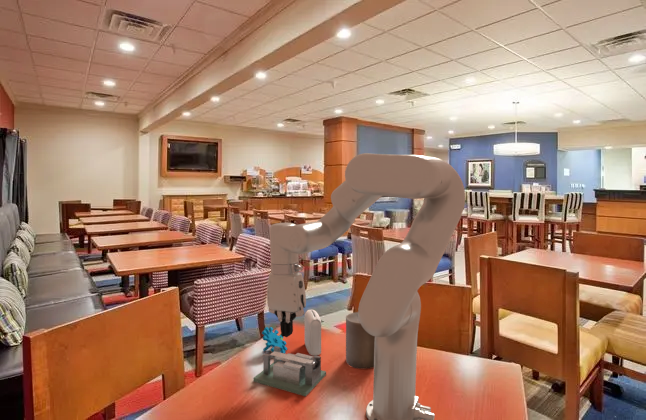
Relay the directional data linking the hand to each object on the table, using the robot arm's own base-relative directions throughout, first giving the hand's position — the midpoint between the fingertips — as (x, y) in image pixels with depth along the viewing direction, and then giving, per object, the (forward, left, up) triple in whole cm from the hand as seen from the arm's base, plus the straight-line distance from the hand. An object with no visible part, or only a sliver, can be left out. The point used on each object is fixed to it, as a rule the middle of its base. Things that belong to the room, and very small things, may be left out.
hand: (286, 335), depth 105 cm
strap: (-2, 0, -7) cm, 7 cm away
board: (-1, 0, -12) cm, 12 cm away
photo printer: (+2, -19, -12) cm, 23 cm away
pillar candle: (-15, -18, -12) cm, 27 cm away
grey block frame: (-2, 0, -11) cm, 11 cm away
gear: (+12, -12, -12) cm, 21 cm away
